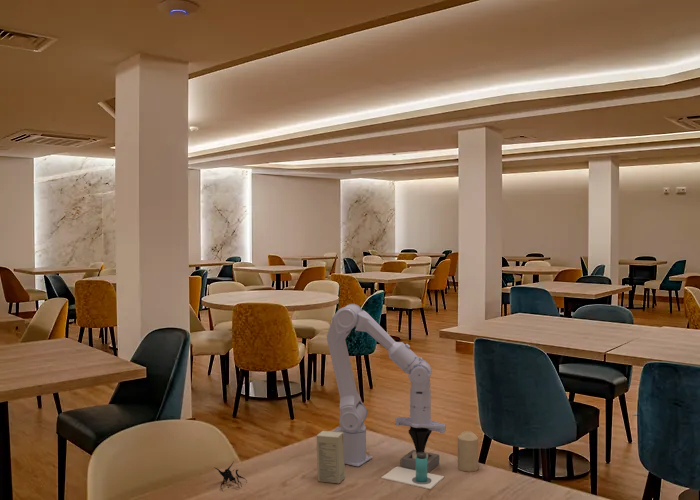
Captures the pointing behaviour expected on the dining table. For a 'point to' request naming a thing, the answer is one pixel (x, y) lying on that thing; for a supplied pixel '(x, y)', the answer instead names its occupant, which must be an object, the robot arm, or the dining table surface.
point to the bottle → (421, 467)
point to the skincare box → (330, 456)
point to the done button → (416, 455)
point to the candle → (468, 451)
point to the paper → (411, 477)
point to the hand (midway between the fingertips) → (420, 454)
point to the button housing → (411, 463)
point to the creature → (229, 476)
